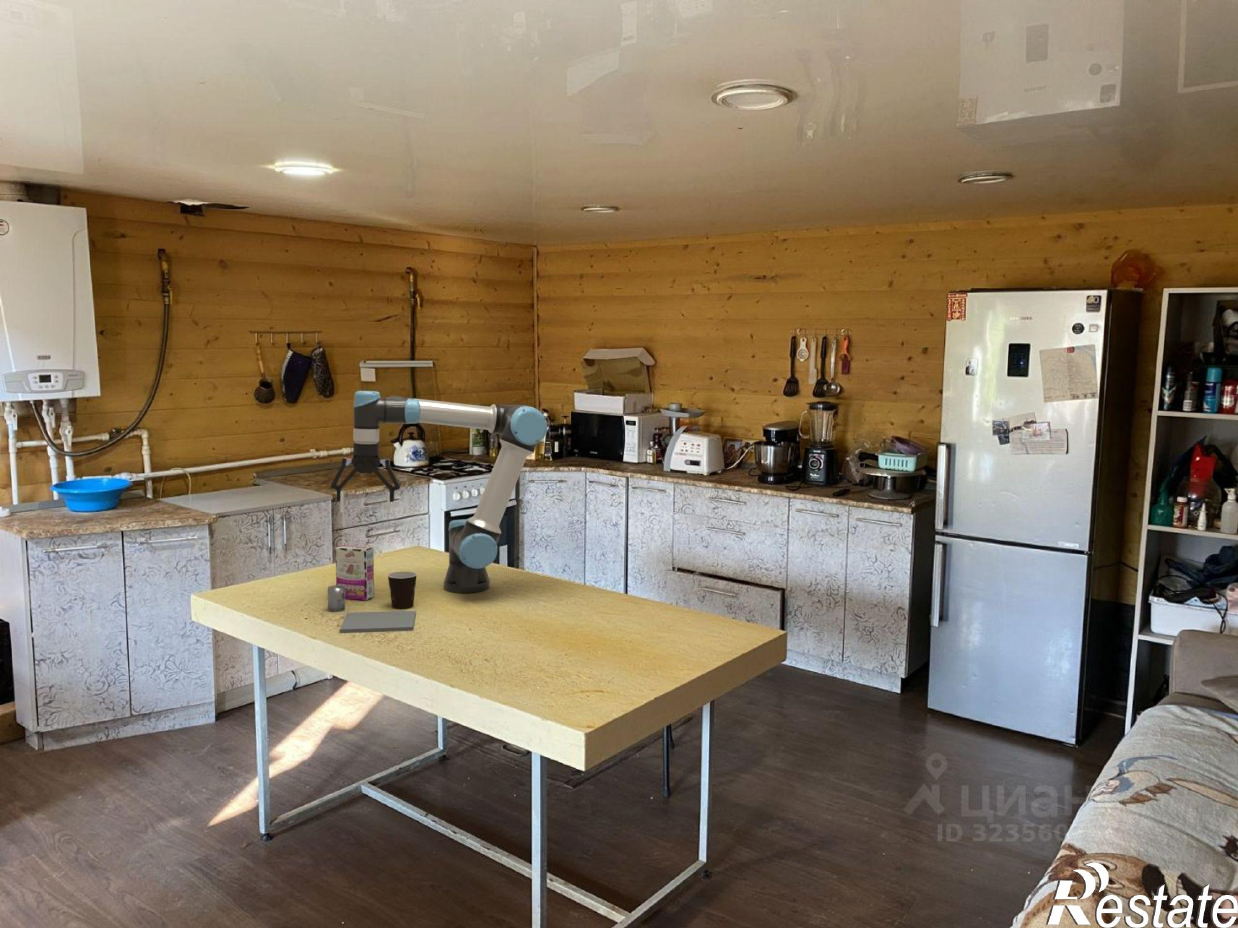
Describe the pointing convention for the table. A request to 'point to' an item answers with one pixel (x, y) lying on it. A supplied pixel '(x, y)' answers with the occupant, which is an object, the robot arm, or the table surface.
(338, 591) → the metal canister
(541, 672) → the table surface
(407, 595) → the coffee mug
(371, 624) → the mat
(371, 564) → the candy bar box
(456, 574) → the robot arm
